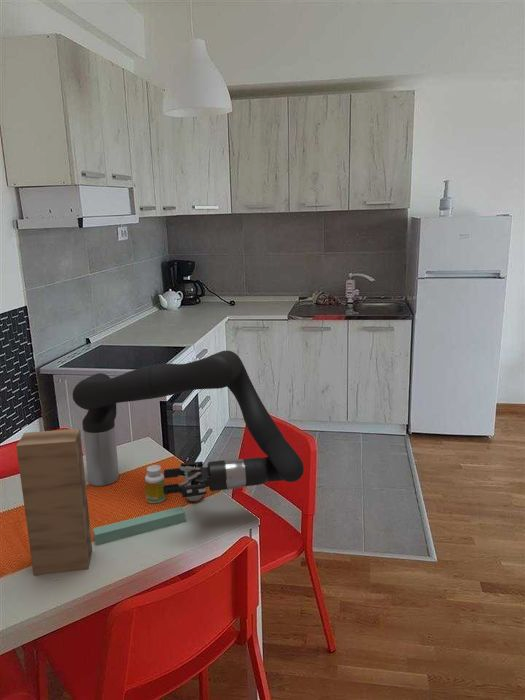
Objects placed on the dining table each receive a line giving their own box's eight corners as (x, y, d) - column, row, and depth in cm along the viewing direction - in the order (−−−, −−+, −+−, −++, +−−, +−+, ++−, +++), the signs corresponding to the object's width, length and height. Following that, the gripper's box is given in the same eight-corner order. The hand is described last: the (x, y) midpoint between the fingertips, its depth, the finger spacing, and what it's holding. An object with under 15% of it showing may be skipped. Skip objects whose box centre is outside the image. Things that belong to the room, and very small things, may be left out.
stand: (40, 556, 127) (24, 432, 119) (92, 550, 129) (80, 428, 121) (33, 575, 120) (16, 445, 112) (88, 568, 122) (75, 441, 114)
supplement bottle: (161, 504, 149) (159, 473, 146) (143, 502, 150) (140, 471, 148) (168, 494, 154) (166, 464, 152) (150, 493, 155) (148, 462, 153)
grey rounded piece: (183, 504, 149) (182, 479, 147) (187, 492, 155) (185, 467, 153) (202, 504, 149) (201, 479, 147) (205, 492, 155) (204, 467, 153)
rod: (93, 539, 134) (92, 528, 133) (181, 516, 144) (180, 506, 143) (96, 546, 131) (94, 535, 130) (185, 522, 141) (184, 512, 140)
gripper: (223, 449, 143) (162, 456, 141) (229, 473, 130) (162, 481, 127) (224, 475, 145) (165, 481, 143) (230, 501, 132) (164, 509, 129)
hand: (163, 481), depth 135 cm, fingers open, 8 cm apart
